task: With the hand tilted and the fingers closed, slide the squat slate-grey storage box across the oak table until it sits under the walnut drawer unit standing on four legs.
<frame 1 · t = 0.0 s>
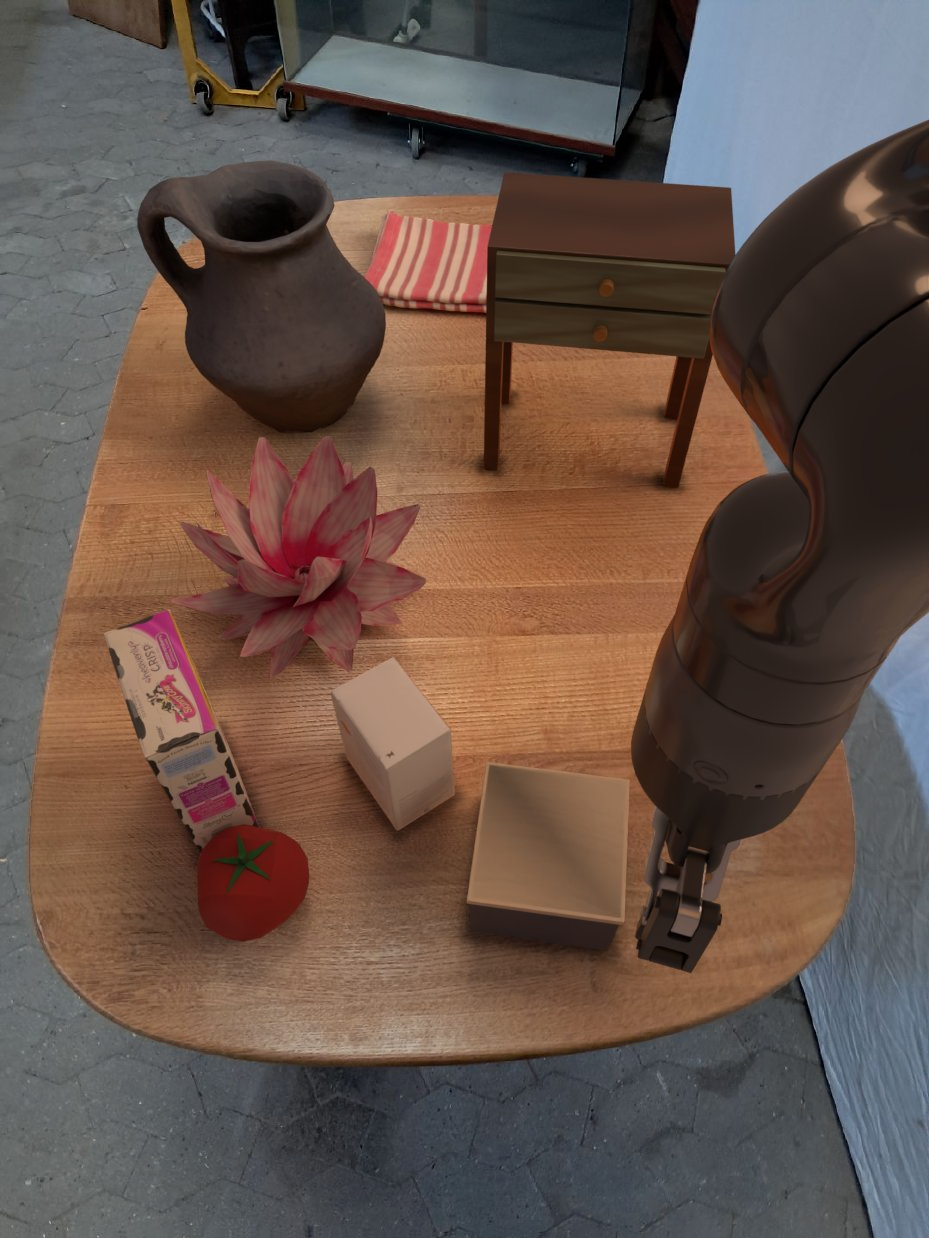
hand: (668, 861, 49), 19 cm above the table, tool pointing down, fingers open, 8 cm apart
storage box: (544, 874, 68), on the table
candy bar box: (214, 791, 73), on the table
tomato: (261, 898, 67), on the table
small box: (399, 778, 73), on the table
decorative flower: (313, 610, 83), on the table
pitcher: (294, 406, 100), on the table
dish towel: (462, 276, 115), on the table
drawer unit: (583, 439, 97), on the table
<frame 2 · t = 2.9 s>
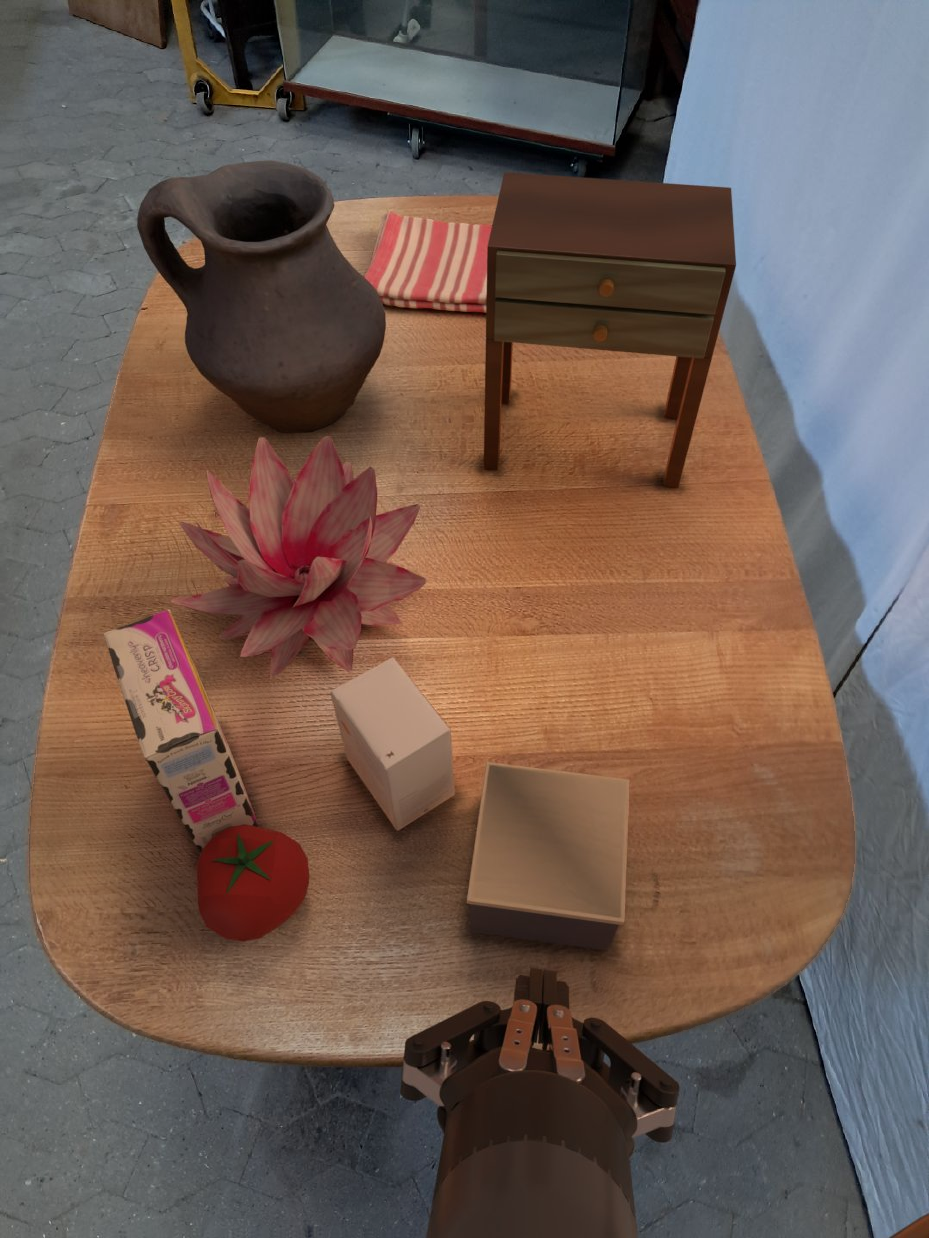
hand: (540, 984, 49), 15 cm above the table, tool tilted 45°, fingers closed
nothing on the table moved.
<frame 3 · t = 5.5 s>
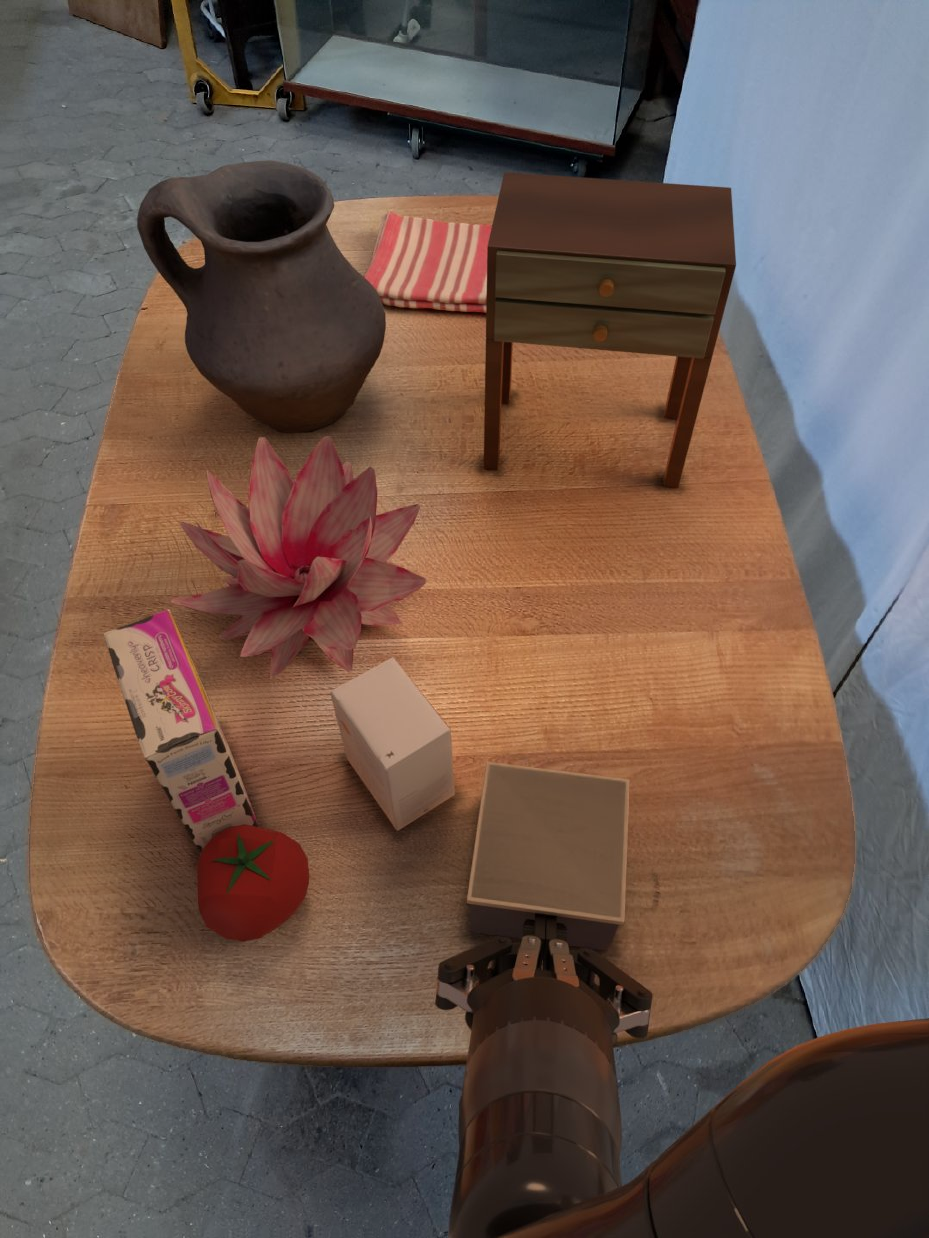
hand: (543, 926, 61), 5 cm above the table, tool tilted 45°, fingers closed
storage box: (544, 874, 68), on the table, touching gripper
everything else where it was.
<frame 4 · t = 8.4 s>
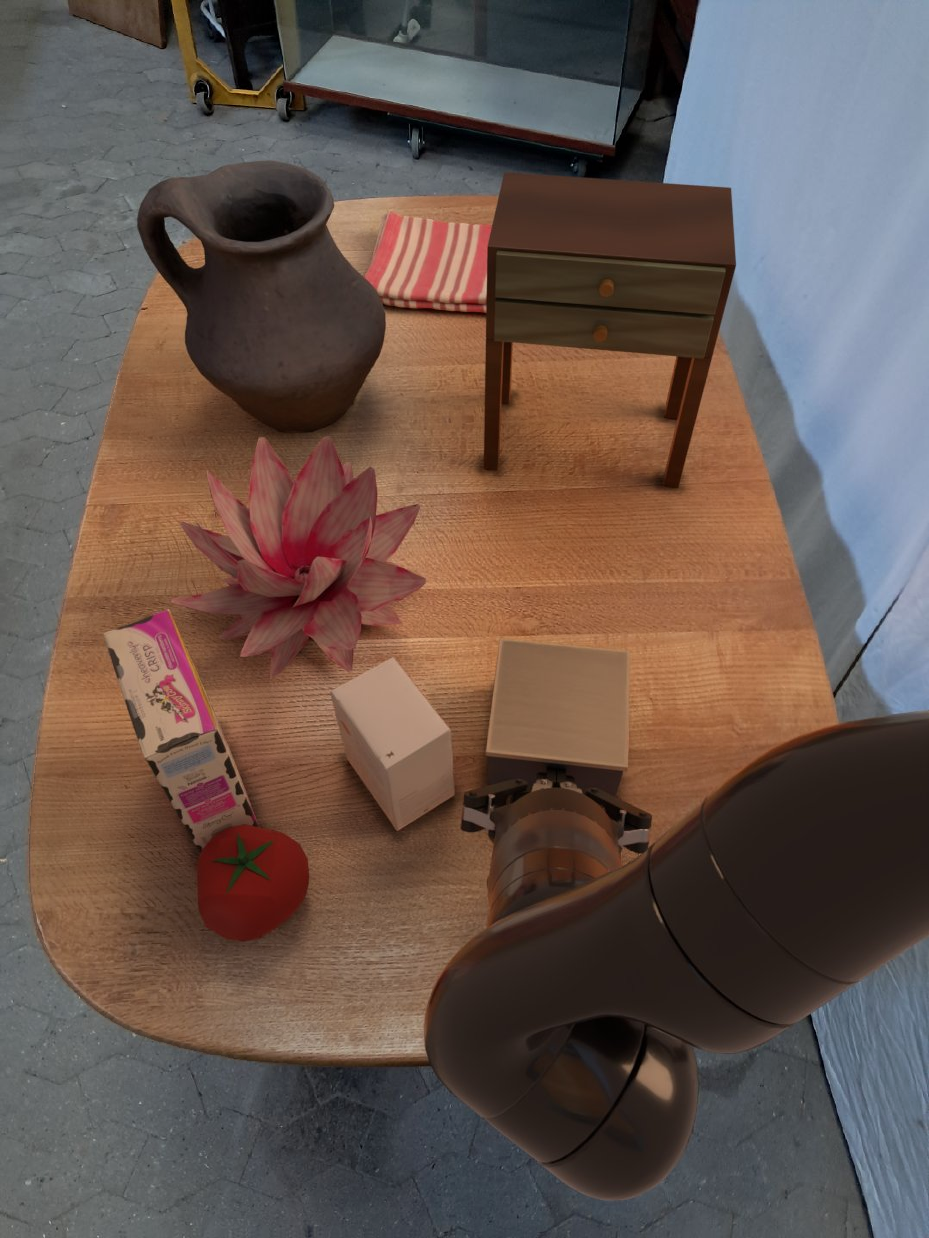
hand: (554, 780, 68), 4 cm above the table, tool tilted 45°, fingers closed
storage box: (553, 743, 75), on the table, touching gripper
everything else where it was.
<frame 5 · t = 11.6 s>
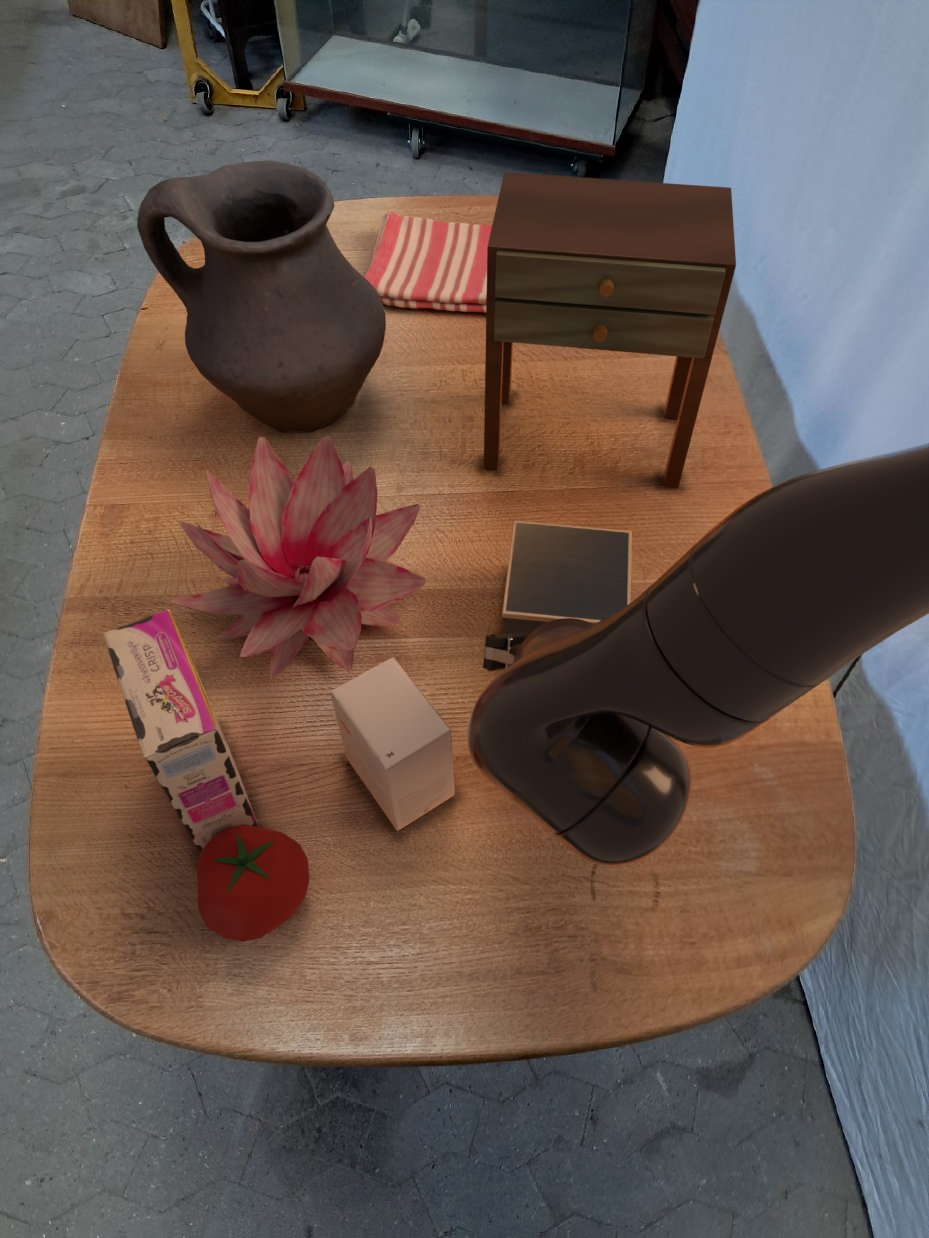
hand: (564, 641, 76), 4 cm above the table, tool tilted 45°, fingers closed
storage box: (562, 619, 82), on the table, touching gripper
everything else where it was.
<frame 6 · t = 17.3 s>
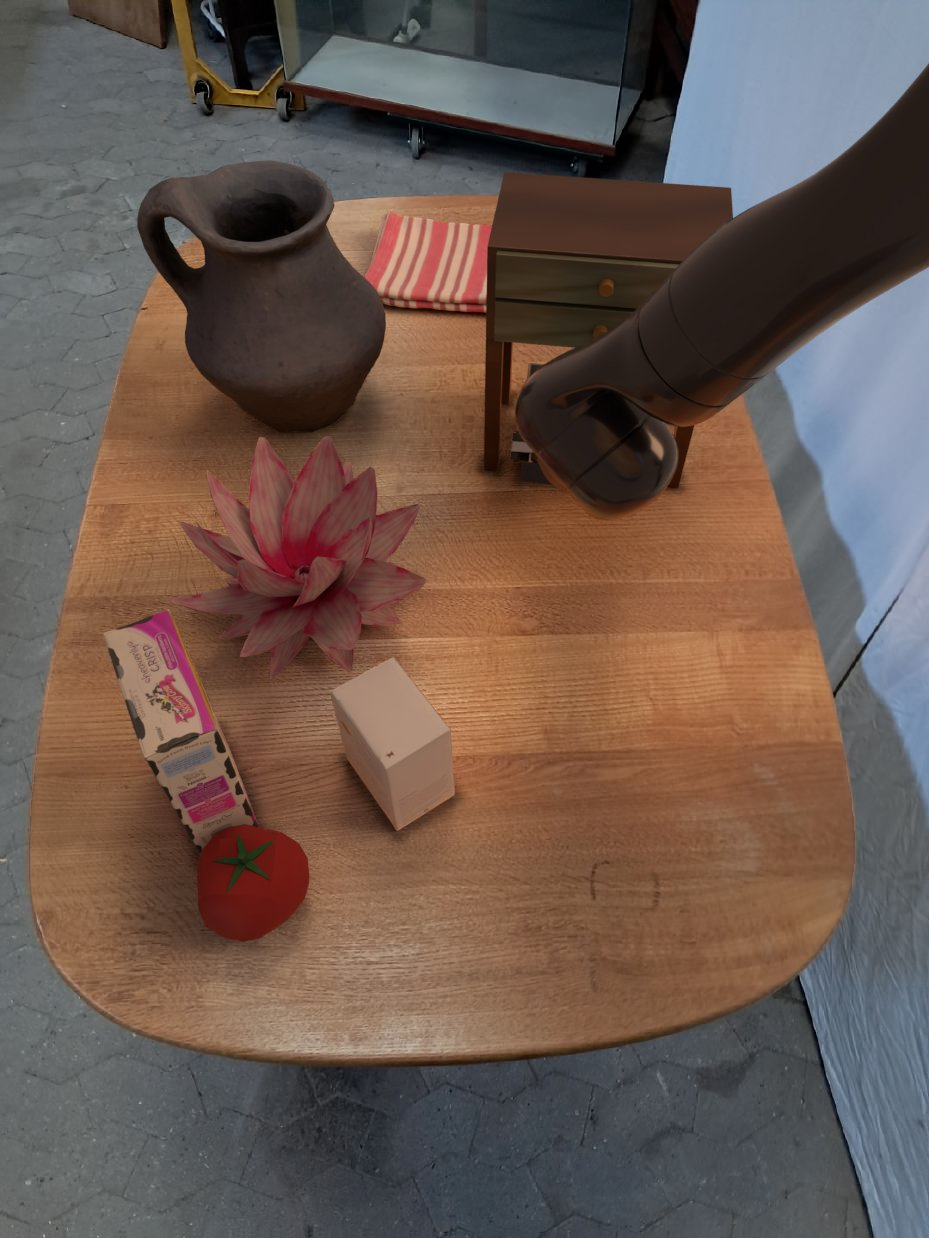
hand: (576, 456, 89), 5 cm above the table, tool tilted 45°, fingers closed
storage box: (571, 451, 96), on the table, touching gripper
everything else where it was.
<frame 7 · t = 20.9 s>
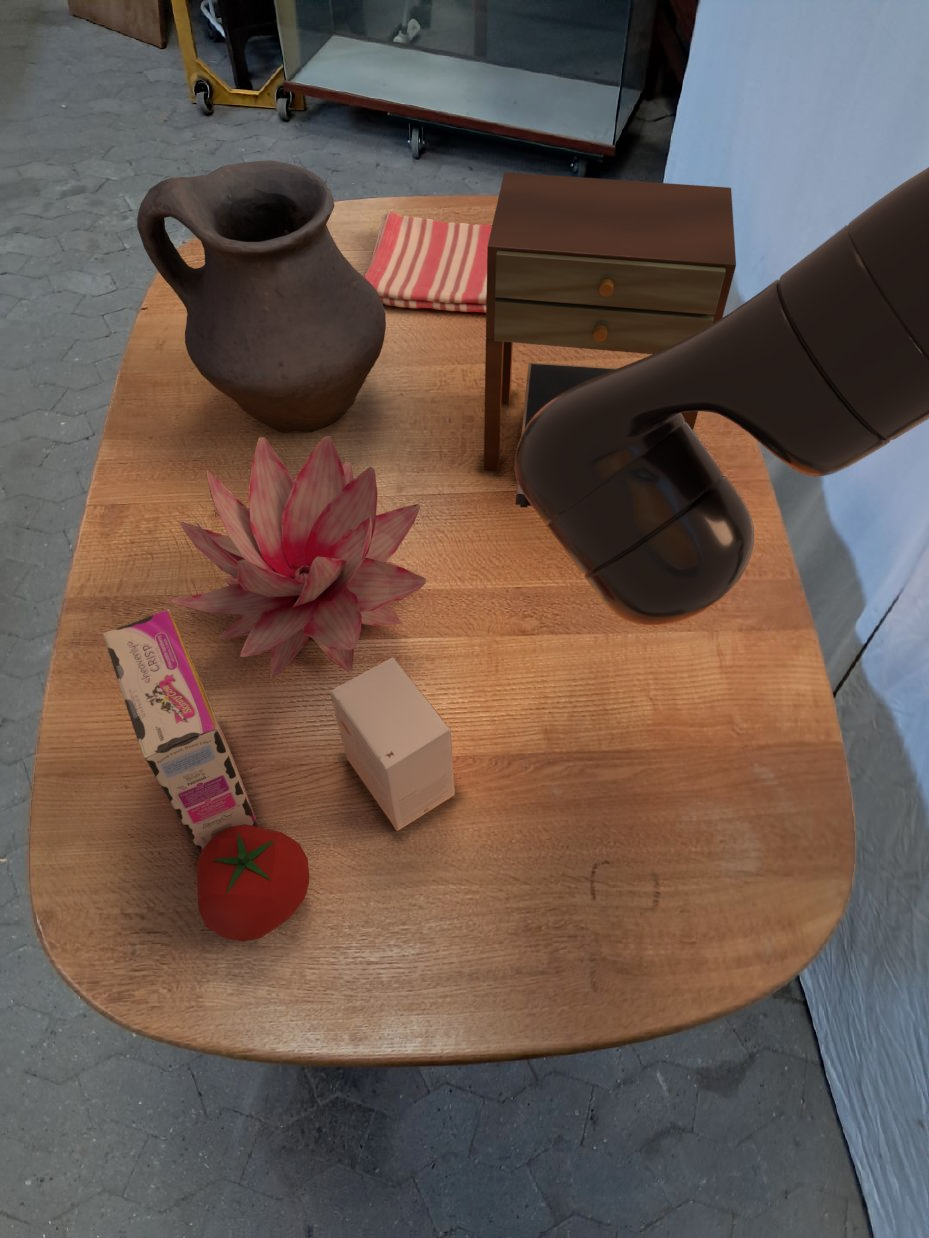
hand: (601, 494, 71), 15 cm above the table, tool tilted 45°, fingers closed
storage box: (571, 450, 96), on the table
everything else where it was.
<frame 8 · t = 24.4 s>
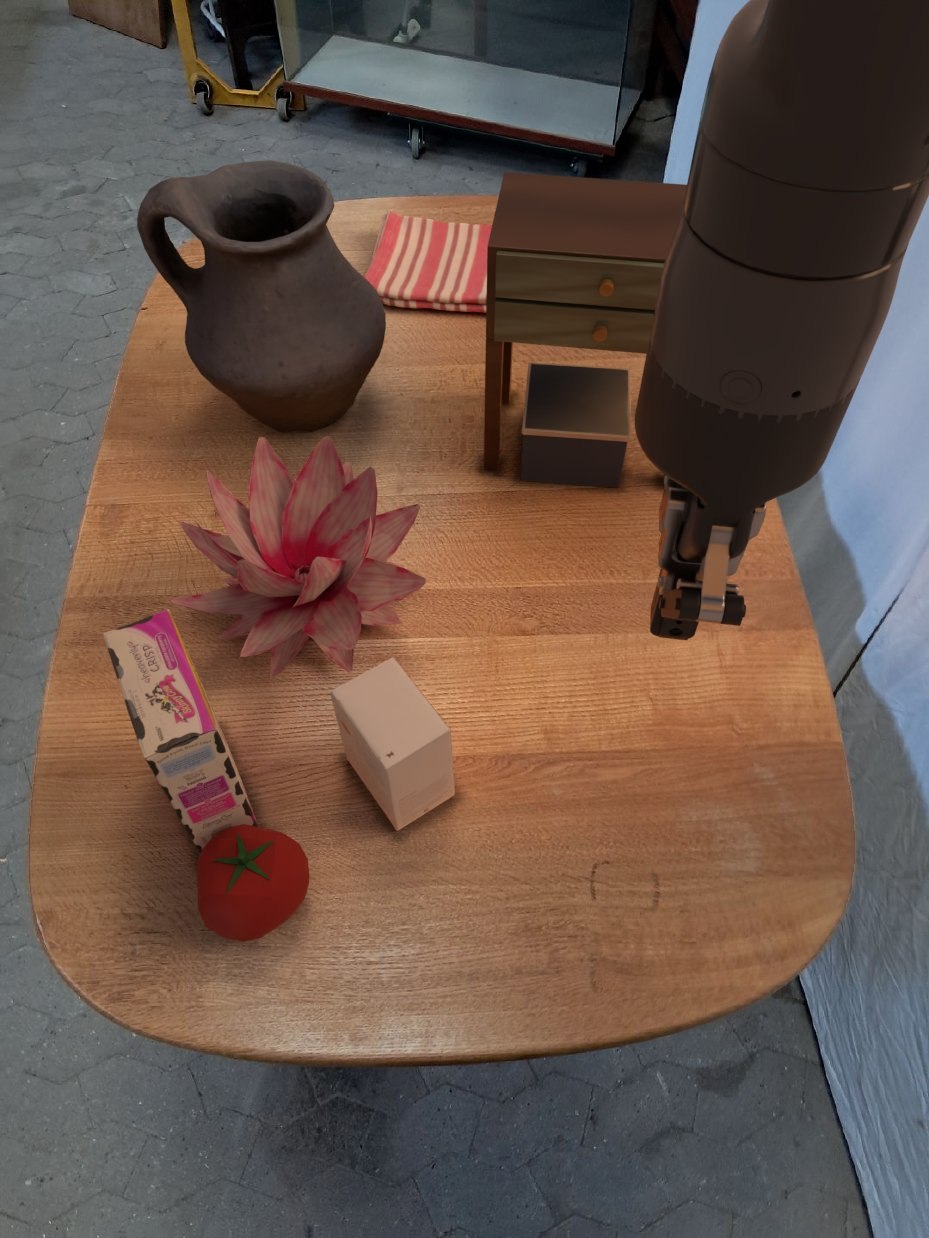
hand: (670, 625, 46), 29 cm above the table, tool pointing down, fingers closed
nothing on the table moved.
at the end: storage box 2.3 cm from the drawer unit (horizontally); storage box tilted 0° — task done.
